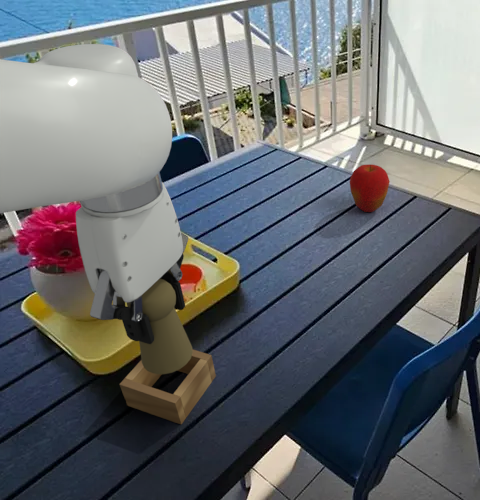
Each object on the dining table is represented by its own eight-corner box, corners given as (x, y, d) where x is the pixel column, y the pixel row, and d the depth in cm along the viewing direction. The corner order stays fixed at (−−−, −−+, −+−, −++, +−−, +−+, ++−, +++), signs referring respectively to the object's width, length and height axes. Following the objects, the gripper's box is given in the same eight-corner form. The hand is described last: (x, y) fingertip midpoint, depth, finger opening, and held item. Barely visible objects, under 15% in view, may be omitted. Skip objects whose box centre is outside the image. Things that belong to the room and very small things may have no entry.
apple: (388, 201, 124) (392, 157, 117) (385, 220, 117) (389, 174, 110) (351, 197, 125) (353, 153, 118) (346, 216, 118) (347, 170, 111)
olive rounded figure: (187, 331, 65) (171, 265, 58) (197, 364, 61) (181, 296, 54) (138, 346, 63) (116, 278, 56) (145, 381, 58) (122, 312, 52)
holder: (181, 424, 72) (175, 403, 69) (127, 405, 74) (119, 384, 72) (216, 376, 79) (211, 354, 76) (165, 360, 82) (159, 339, 79)
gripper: (144, 144, 55) (174, 272, 66) (14, 221, 42) (77, 366, 53) (203, 155, 53) (224, 285, 64) (86, 239, 40) (137, 386, 51)
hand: (157, 321), depth 58 cm, fingers closed on olive rounded figure, 5 cm apart
